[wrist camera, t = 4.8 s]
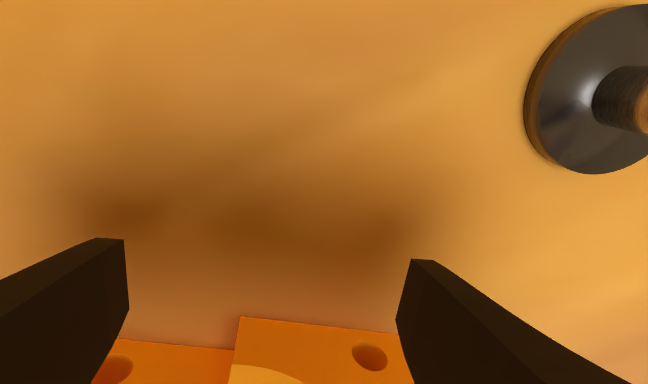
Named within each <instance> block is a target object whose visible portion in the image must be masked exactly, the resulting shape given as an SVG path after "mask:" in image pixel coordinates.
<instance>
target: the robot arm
mask: <svg viewBox="0 0 648 384" xmlns="http://www.w3.org/2000/svg"><path fill="white" fill-rule="evenodd" d="M128 311H129V299H128V287H127V275H126V263H125V251H124V240H122V239H107V238H94V239H91V240H89V241H86V242H83V243H81V244H79V245H76V246H74V247H72V248H69V249H67V250H65V251H63V252H61V253H58V254H56V255H54V256H52V257H50V258H47V259H45V260H43V261H41V262H39V263H36V264H34V265H32V266H30V267H28V268H25V269H23V270H21V271H19V272H17V273H14V274H12V275H10V276H8V277H6V278H4V279H1V280H0V384H91V382H92V380H93V379H94V377H95V375H96V374H97V372H98V370H99V369H100V367H101V365H102V364H103V362H104V360H105V359H106V357H107V355H108V354H109V352H110V350H111V349H112V347H113V344H114V342H115V340H116V338H117V336H118V334H119V332H120V329H121V327H122V325H123V322H124V320H125V318H126V316H127V313H128ZM395 321H396V325H397V330H398V334H399V338H400V342H401V346H402V350H403V354H404V357H405V360H406V363H407V365H408V368H409V370H410V373H411V376H412V378H413V381H414V384H631V383H629V382H627V381H625V380H623V379H621V378H620V377H618V376H616V375H614V374H612V373H610V372H608V371H606V370H605V369H603V368H601V367H599V366H597V365H596V364H594V363H592V362H590V361H589V360H587V359H585V358H583V357H581V356H580V355H578V354H576V353H574V352H572V351H571V350H569V349H567V348H566V347H564V346H562V345H561V344H559V343H557V342H556V341H554V340H552V339H551V338H549V337H547V336H546V335H544V334H543V333H541V332H540V331H538V330H536V329H535V328H533V327H532V326H530V325H529V324H527V323H525V322H524V321H522V320H521V319H519V318H518V317H516V316H515V315H513V314H512V313H510V312H509V311H507V310H506V309H504V308H503V307H502V306H500V305H499V304H497V303H496V302H494V301H493V300H491V299H490V298H489V297H487V296H486V295H484V294H483V293H481V292H480V291H479V290H477V289H476V288H474V287H473V286H471V285H470V284H469V283H467V282H466V281H464V280H463V279H462V278H460V277H459V276H457V275H456V274H454V273H453V272H451V271H450V270H448V269H447V268H445V267H444V266H442V265H441V264H439V263H437V262H435V261H434V260H424V259H411V261H410V265H409V269H408V273H407V276H406V280H405V284H404V288H403V292H402V296H401V300H400V304H399V307H398V311H397V315H396V319H395Z"/></svg>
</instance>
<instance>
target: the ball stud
mask: <svg viewBox="0 0 648 384" xmlns="http://www.w3.org/2000/svg"><path fill="white" fill-rule="evenodd" d="M524 121H525V127H526V131H527V134H528V137H529V139H530V141H531V143H532V144H533V146H534V148H535V149H536V150H537V151H538V152H539V153H540V154H541V155H542V156H543V157H545V158H546V159H548V160H550V161H551V162H553V163H556V164H558V165H560V166H563V167H565V168H567V169H570V170H572V171H575V172H578V173H583V174H605V173H609V172H614V171H617V170H620V169H623V168H625V167H627V166H630V165H632V164H634V163H636V162H637V161H639V160H641V159H643V158H644V157H645V156H647V155H648V4H639V5H631V6H623V7H615V8H609V9H605V10H601V11H598V12H595V13H593V14H590V15H588V16H586V17H584V18H583V19H581V20H579V21H578V22H576V23H575V24H573V25H572V26H570V27H569V28H568V29H567V30H565V31H564V32H563V33H562V34H561V35H560V36H559V37H558V38H557V39H556V40H555V41H554V42H553V43H552V44H551V45H550V47H549V48H548V49H547V50H546V52H545V53H544V55H543V56H542V58H541V59H540V61H539V62H538V64H537V66H536V68H535V70H534V72H533V74H532V76H531V79H530V82H529V84H528V88H527V92H526V96H525V103H524Z"/></svg>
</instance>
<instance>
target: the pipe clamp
mask: <svg viewBox="0 0 648 384" xmlns="http://www.w3.org/2000/svg"><path fill="white" fill-rule="evenodd" d="M91 384H414V381H413V378H412V376H411V373H410V370H409V368H408V365H407V363H406V360H405V357H404V354H403V350H402V346H401V342H400V340H399V337H398V335H397V334H390V333H382V332H373V331H365V330H356V329H347V328H339V327H330V326H322V325H313V324H305V323H296V322H287V321H279V320H270V319H262V318H253V317H245V316H240V321H239V327H238V332H237V337H236V342H235V348H234V350H225V349H215V348H205V347H195V346H185V345H175V344H165V343H155V342H145V341H135V340H125V339H116V340H115V342H114V344H113V347H112V349H111V350H110V352H109V354H108V355H107V357H106V359H105V360H104V362H103V364H102V365H101V367H100V369H99V370H98V372H97V374H96V375H95V377H94V379H93V380H92V382H91Z"/></svg>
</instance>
